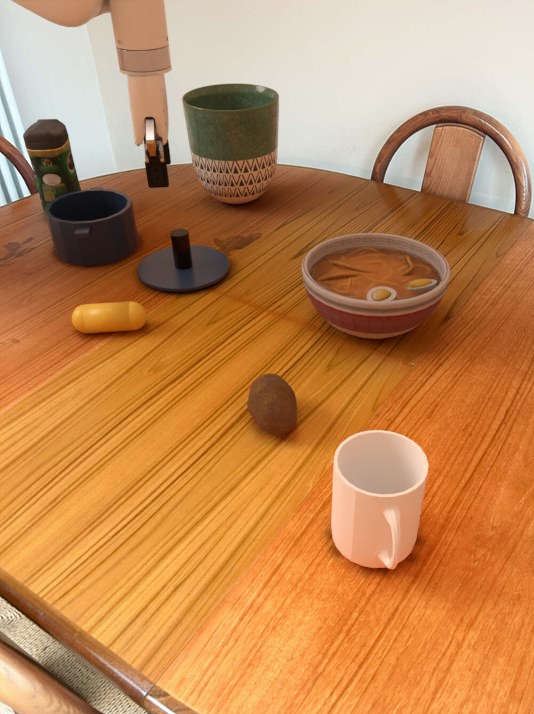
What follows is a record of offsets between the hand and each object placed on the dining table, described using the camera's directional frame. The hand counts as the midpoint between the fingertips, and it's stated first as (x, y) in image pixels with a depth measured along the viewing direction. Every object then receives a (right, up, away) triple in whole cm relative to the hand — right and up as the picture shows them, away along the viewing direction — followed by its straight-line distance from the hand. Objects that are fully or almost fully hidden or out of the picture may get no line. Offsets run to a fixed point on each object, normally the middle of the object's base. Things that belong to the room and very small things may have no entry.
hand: (160, 175), depth 106 cm
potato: (+19, -39, -18) cm, 47 cm away
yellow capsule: (-8, -25, -1) cm, 26 cm away
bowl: (+34, -23, +1) cm, 42 cm away
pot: (-17, -7, +22) cm, 28 cm away
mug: (+31, -53, -34) cm, 70 cm away
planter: (+9, +8, +39) cm, 41 cm away
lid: (+2, -12, +14) cm, 18 cm away
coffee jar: (-28, +3, +34) cm, 44 cm away
